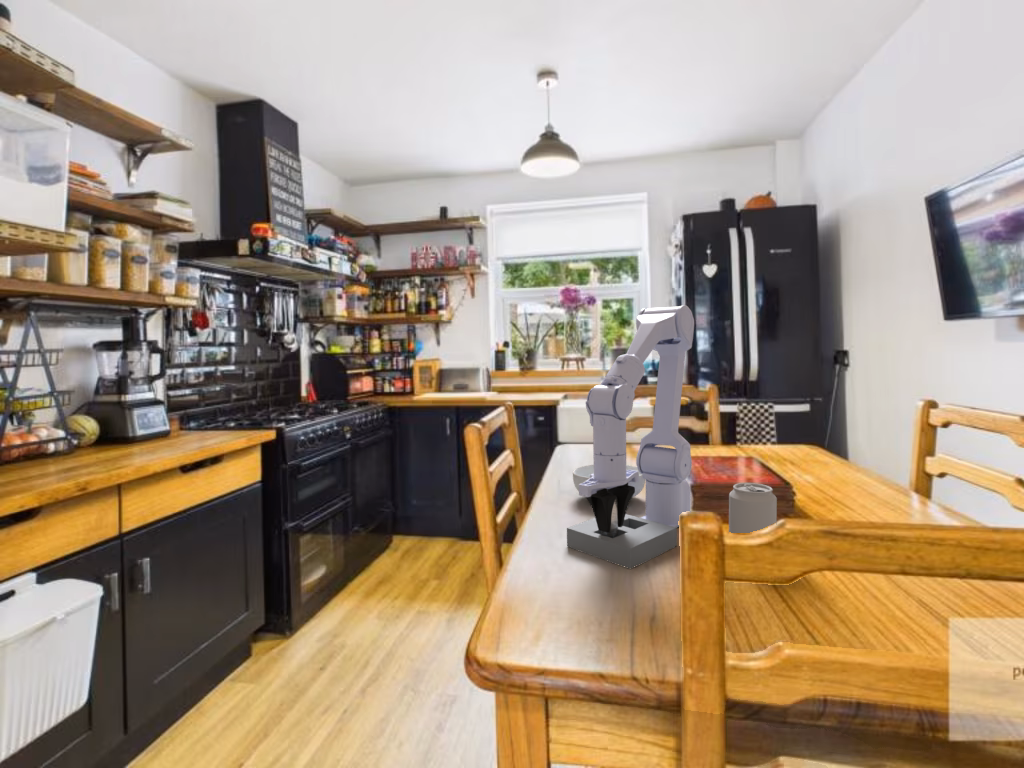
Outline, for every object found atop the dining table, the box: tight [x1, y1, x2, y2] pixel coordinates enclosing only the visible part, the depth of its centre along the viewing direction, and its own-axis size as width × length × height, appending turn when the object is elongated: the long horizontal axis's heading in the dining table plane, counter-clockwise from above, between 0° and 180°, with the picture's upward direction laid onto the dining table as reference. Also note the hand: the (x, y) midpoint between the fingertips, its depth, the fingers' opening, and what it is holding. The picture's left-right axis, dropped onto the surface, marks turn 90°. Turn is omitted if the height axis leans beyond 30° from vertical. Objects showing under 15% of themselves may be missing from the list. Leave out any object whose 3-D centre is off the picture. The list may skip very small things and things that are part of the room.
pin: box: [601, 497, 618, 538], centre depth 95 cm, size 3×3×8 cm
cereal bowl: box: [572, 464, 646, 498], centre depth 127 cm, size 17×17×7 cm
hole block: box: [566, 513, 678, 569], centre depth 97 cm, size 14×14×4 cm
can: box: [728, 482, 778, 533], centre depth 92 cm, size 8×8×12 cm
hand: (610, 528), depth 95 cm, fingers open, 3 cm apart
